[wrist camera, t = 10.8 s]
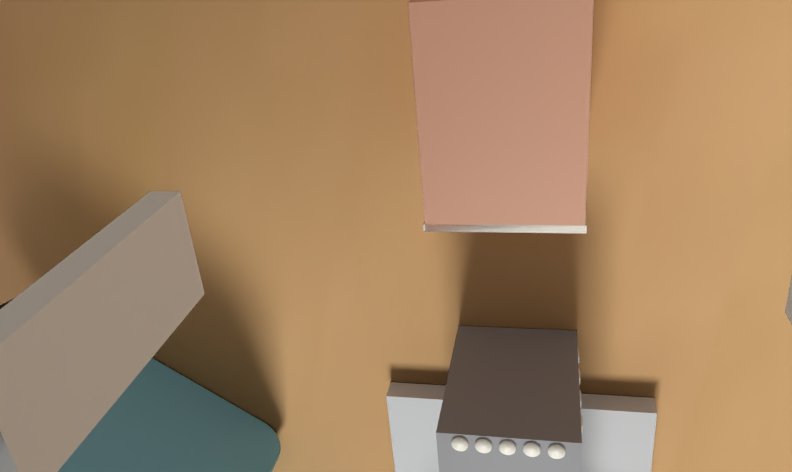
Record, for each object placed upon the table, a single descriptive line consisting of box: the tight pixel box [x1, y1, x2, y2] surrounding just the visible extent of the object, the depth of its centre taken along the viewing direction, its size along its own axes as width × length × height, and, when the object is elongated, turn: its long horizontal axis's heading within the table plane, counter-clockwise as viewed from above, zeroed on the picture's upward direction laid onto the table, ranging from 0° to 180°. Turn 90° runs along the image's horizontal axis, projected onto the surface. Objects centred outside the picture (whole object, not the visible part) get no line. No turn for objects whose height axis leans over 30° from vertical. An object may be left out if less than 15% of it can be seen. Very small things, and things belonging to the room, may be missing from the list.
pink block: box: [408, 0, 594, 233], centre depth 26 cm, size 6×8×8 cm
